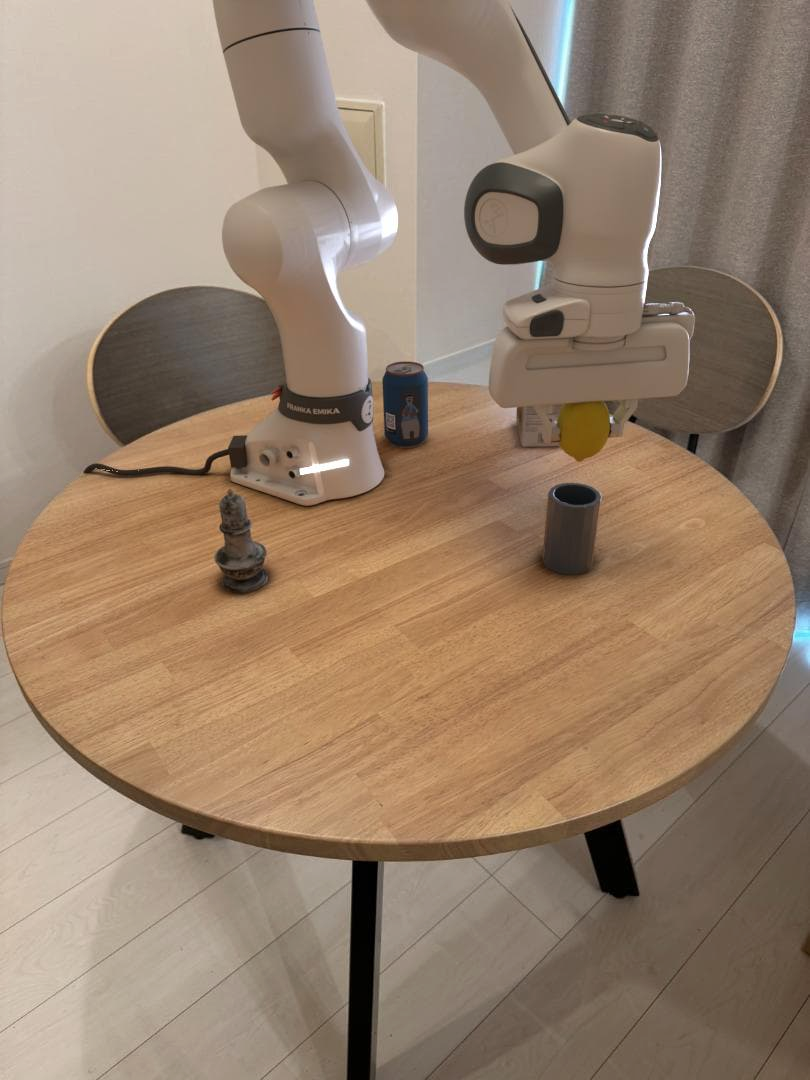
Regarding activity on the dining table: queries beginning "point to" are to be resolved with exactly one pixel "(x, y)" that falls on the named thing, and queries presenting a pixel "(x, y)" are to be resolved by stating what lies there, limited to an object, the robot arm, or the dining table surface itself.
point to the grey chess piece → (239, 548)
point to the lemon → (583, 428)
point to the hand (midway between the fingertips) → (581, 438)
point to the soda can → (405, 404)
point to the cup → (571, 528)
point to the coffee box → (534, 426)
